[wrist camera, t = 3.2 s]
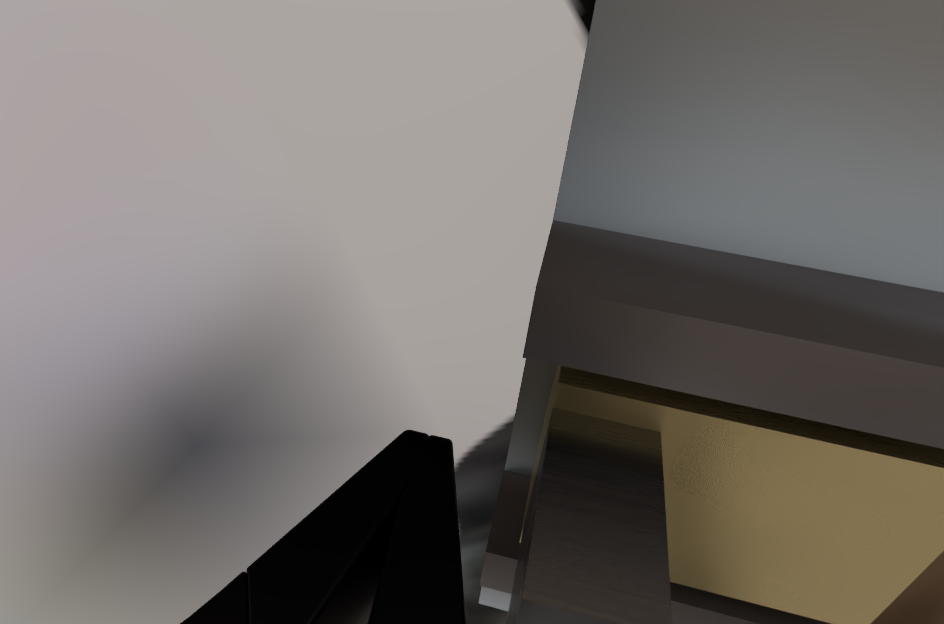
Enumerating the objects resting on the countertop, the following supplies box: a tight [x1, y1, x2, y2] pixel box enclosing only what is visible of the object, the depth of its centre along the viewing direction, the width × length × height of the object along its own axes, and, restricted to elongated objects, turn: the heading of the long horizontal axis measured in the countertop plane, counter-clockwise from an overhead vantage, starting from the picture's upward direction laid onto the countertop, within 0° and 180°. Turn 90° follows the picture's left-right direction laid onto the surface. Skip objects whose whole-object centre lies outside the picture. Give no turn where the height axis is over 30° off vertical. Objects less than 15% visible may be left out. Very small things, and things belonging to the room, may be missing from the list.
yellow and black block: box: [506, 365, 944, 624], centre depth 9 cm, size 4×6×5 cm, turn 85°
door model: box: [479, 0, 944, 624], centre depth 11 cm, size 18×16×6 cm
